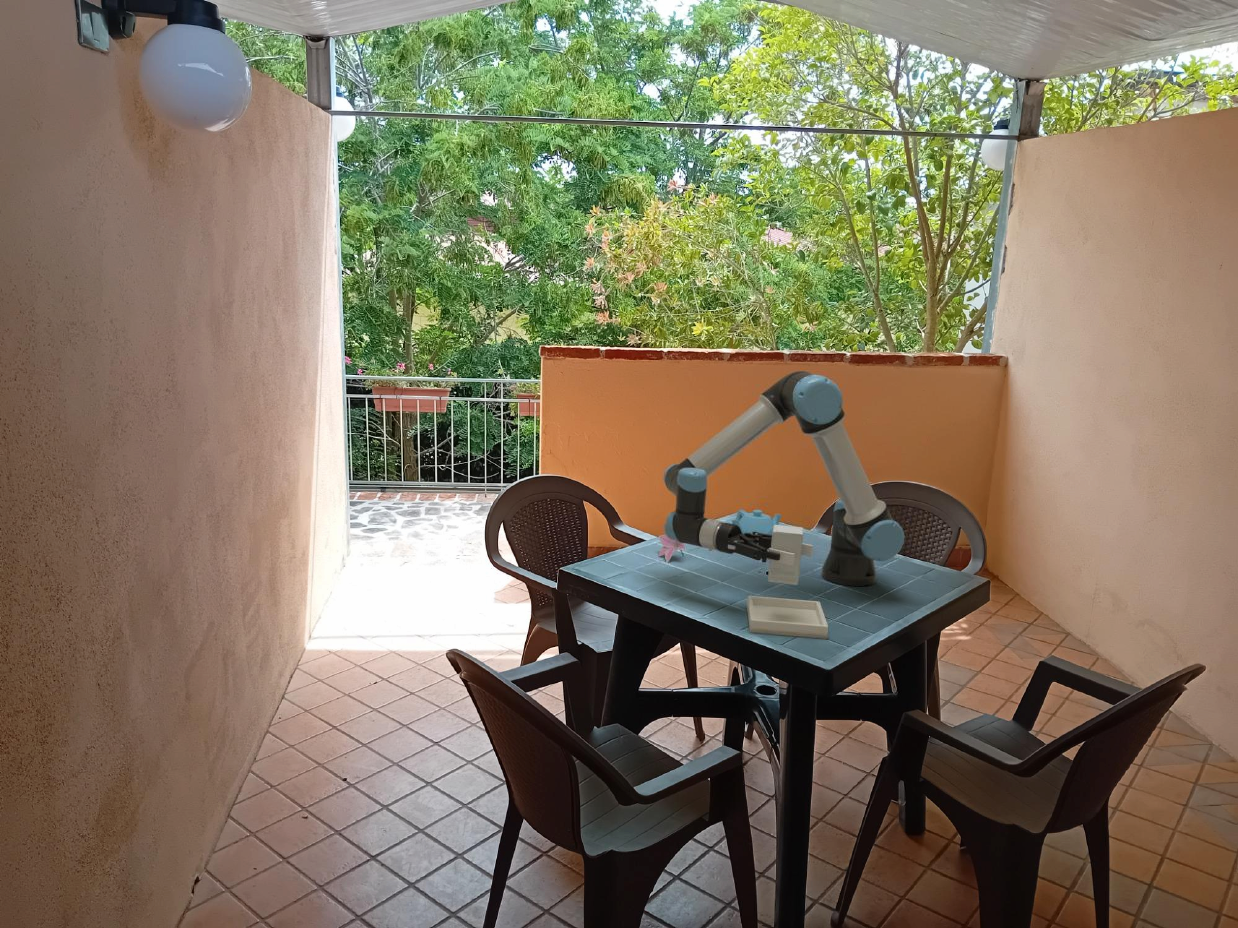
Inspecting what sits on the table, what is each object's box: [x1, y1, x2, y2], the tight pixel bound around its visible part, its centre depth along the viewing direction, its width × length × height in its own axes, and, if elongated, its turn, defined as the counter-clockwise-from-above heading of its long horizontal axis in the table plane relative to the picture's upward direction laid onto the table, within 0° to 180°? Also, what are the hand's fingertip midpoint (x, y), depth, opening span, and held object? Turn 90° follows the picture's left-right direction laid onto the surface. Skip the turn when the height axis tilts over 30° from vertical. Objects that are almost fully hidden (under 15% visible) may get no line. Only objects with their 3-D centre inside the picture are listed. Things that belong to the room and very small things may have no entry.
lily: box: [657, 533, 686, 563], centre depth 278 cm, size 12×12×10 cm
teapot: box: [731, 509, 782, 544], centre depth 299 cm, size 15×15×11 cm
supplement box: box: [767, 524, 804, 586], centre depth 227 cm, size 7×7×13 cm
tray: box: [746, 595, 829, 640], centre depth 230 cm, size 18×18×3 cm
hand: (802, 555), depth 225 cm, fingers closed on supplement box, 9 cm apart
